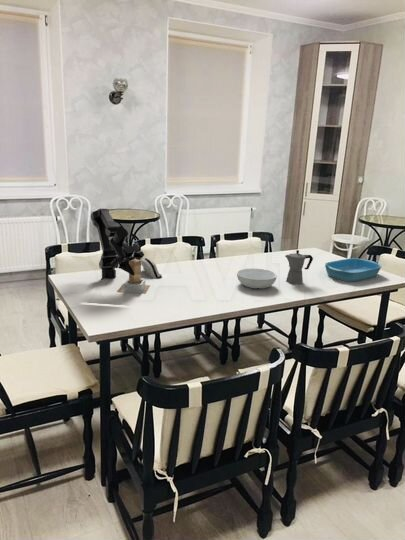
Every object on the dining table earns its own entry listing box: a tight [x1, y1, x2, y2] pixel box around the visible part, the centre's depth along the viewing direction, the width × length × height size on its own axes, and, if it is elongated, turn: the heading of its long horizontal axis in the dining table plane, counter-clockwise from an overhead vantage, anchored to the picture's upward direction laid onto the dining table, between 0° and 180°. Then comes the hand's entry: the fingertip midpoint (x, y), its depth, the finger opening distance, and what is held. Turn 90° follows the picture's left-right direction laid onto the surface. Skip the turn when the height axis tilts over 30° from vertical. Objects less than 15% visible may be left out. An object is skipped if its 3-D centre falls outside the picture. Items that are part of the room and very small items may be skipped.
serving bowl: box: [236, 267, 278, 289], centre depth 234 cm, size 21×21×7 cm
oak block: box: [128, 259, 142, 284], centre depth 214 cm, size 4×4×13 cm
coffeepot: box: [284, 249, 314, 285], centre depth 243 cm, size 15×9×18 cm, turn 92°
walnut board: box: [116, 283, 151, 295], centre depth 218 cm, size 14×13×1 cm
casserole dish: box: [324, 257, 382, 283], centre depth 262 cm, size 37×22×7 cm, turn 125°
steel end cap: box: [123, 277, 146, 295], centre depth 215 cm, size 8×8×4 cm
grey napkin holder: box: [140, 257, 163, 279], centre depth 245 cm, size 17×5×10 cm, turn 26°
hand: (137, 273), depth 213 cm, fingers closed on oak block, 4 cm apart
